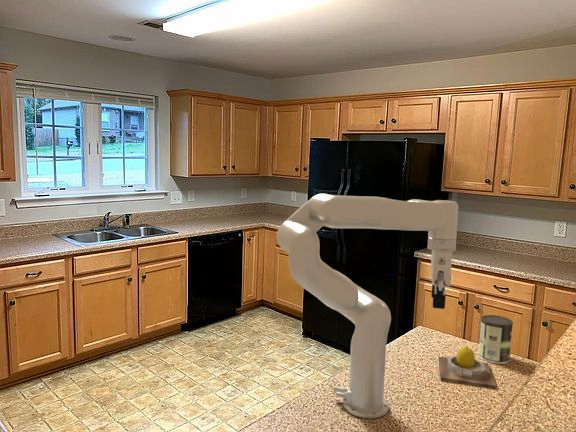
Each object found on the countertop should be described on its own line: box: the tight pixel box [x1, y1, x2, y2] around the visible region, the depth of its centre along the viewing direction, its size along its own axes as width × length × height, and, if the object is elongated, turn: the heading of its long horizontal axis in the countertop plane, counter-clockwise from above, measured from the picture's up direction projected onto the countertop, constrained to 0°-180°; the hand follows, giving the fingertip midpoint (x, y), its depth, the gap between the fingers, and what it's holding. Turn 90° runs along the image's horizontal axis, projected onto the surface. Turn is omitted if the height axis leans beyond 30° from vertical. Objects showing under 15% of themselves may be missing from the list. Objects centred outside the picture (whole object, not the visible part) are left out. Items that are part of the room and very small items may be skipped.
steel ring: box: [447, 355, 485, 378], centre depth 146 cm, size 11×11×2 cm
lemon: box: [456, 346, 476, 369], centre depth 145 cm, size 6×6×8 cm
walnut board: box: [437, 356, 497, 390], centre depth 146 cm, size 16×16×1 cm
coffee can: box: [478, 314, 514, 365], centre depth 157 cm, size 10×10×14 cm
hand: (437, 302), depth 127 cm, fingers open, 9 cm apart
